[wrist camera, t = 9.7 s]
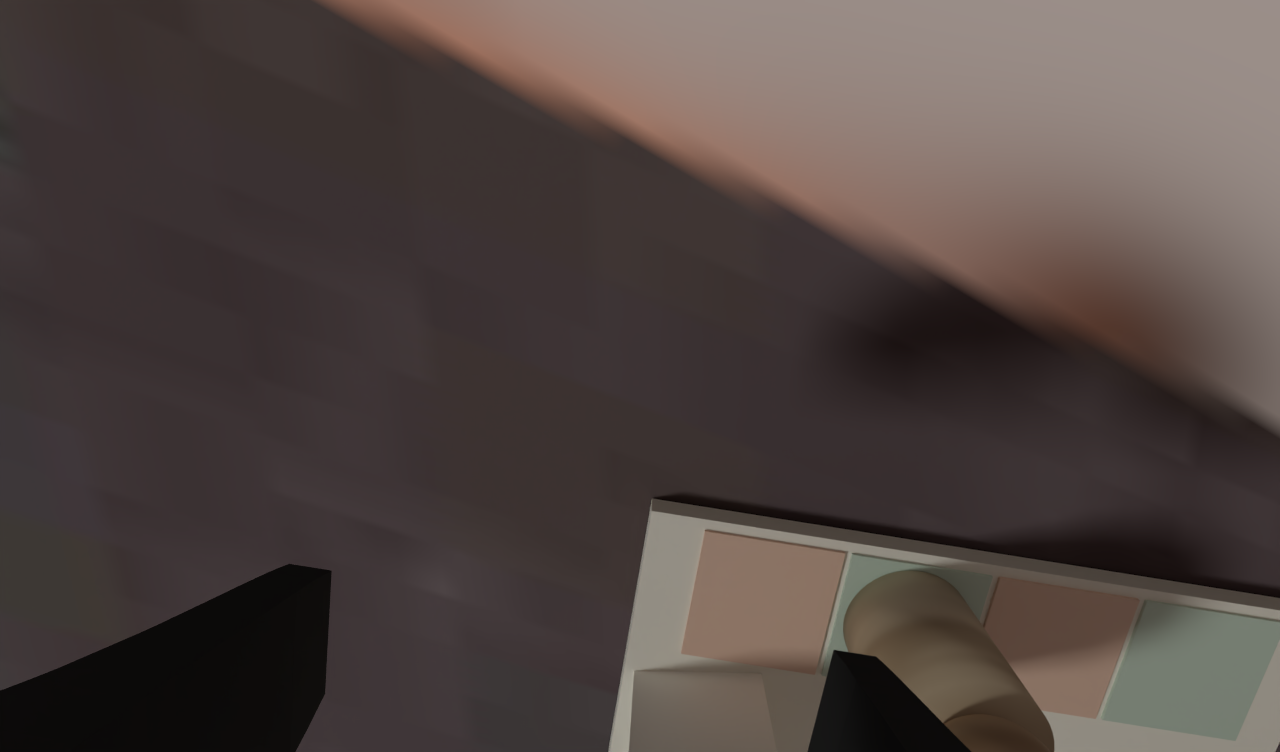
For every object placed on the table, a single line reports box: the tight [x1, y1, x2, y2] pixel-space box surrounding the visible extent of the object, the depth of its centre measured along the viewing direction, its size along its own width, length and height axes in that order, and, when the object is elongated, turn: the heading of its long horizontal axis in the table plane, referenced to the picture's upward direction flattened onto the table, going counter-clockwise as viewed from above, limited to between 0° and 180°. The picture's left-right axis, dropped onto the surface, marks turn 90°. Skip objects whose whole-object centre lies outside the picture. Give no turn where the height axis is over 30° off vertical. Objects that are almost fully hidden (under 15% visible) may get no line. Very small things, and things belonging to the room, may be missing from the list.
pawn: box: [843, 571, 1054, 752], centre depth 17 cm, size 3×3×7 cm
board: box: [608, 499, 1280, 752], centre depth 21 cm, size 8×19×1 cm, turn 81°
